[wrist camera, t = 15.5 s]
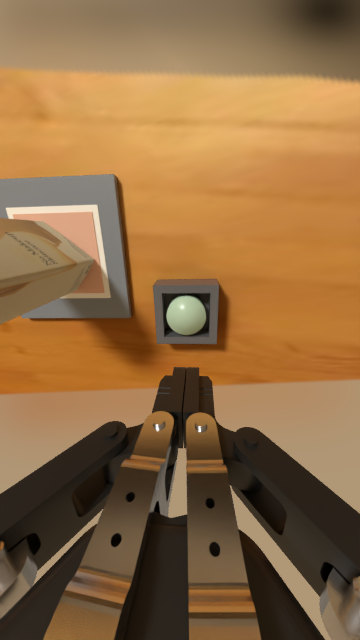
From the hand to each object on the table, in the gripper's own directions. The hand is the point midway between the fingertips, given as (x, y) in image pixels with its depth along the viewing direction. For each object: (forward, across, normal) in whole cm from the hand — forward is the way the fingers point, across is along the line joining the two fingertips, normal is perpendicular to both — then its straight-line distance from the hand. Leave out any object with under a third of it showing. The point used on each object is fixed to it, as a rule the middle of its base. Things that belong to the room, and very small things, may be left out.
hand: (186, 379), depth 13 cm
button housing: (+13, +1, 0) cm, 13 cm away
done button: (+11, +1, 0) cm, 12 cm away
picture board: (+12, +14, -6) cm, 20 cm away
